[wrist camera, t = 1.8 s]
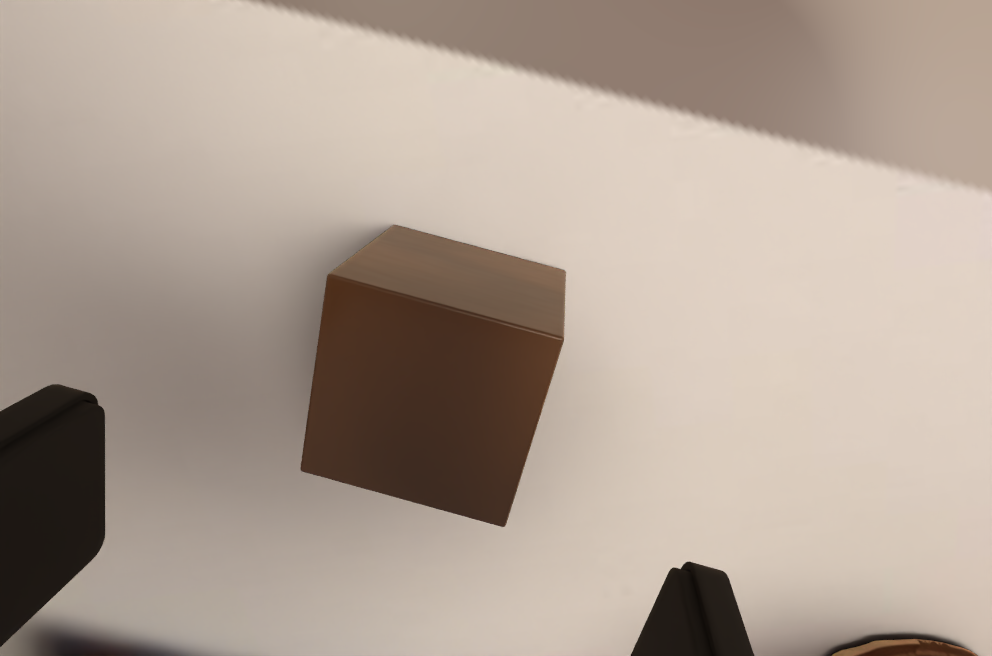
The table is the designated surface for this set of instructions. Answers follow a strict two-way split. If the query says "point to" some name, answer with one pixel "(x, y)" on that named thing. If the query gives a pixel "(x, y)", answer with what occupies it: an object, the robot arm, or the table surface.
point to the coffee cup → (905, 649)
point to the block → (433, 371)
